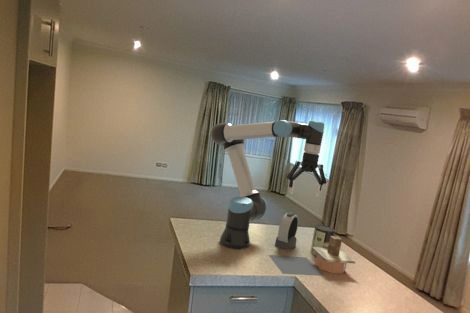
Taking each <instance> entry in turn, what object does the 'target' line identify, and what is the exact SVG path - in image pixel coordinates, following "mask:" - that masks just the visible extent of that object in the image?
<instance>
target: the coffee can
mask: <svg viewBox="0 0 470 313" xmlns="http://www.w3.org/2000/svg"><path fill="white" fill-rule="evenodd" d="M335 232H336V230H335V229H334V228H333V227H331V226H328V225H327V226H326V225H322V224H317V225H316V224H315V225H314V231H313V236H312V237H313V238H312V240H311V241H312V242H311V247H310V253H311V254H312V255H314V256H316V257H317V253H316V252H314V251H313V250H312V249H311V248H312V247H322V248H328V245H329V240H330V236H335Z"/></svg>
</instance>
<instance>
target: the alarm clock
mask: <svg viewBox="0 0 470 313" xmlns="http://www.w3.org/2000/svg"><path fill="white" fill-rule="evenodd" d="M298 217H299V216H298V215H296V213H295V212H293V211H292V212H291V211H288V212H286V213H285V214H284V215H283V217H282V218H281V220H280V224H279V226H278V227H279V228H278V232H277V236H276V239H275V243H274V247H279V248H281V249H285V250H292V249H296V246H297V241H298V240H297V237H296V235H297V232H298V226H299V218H298Z"/></svg>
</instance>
